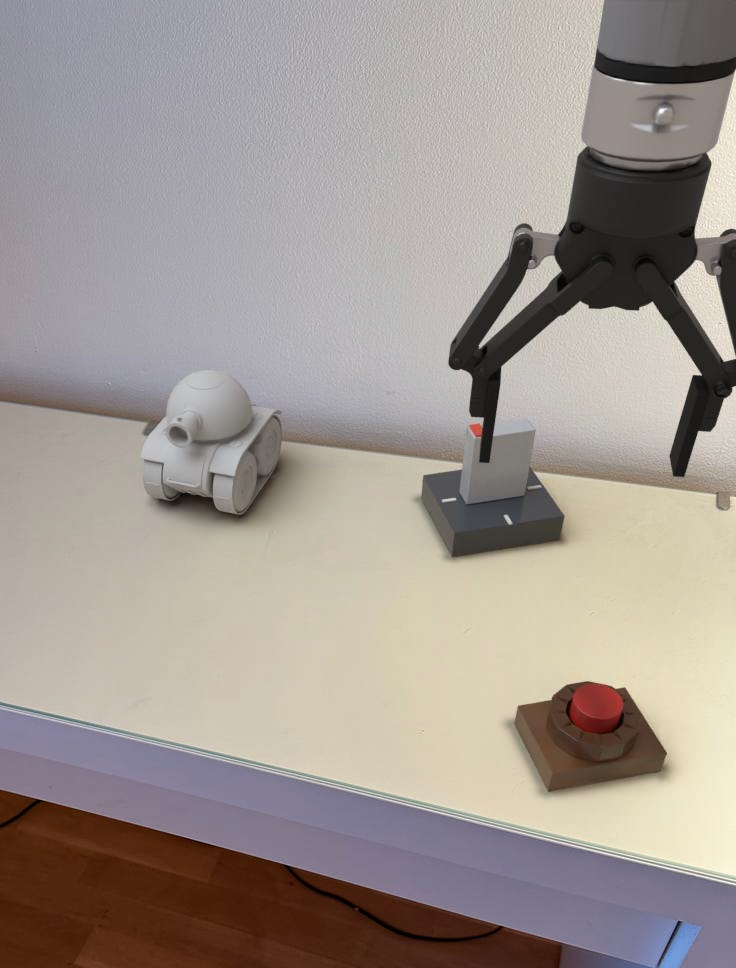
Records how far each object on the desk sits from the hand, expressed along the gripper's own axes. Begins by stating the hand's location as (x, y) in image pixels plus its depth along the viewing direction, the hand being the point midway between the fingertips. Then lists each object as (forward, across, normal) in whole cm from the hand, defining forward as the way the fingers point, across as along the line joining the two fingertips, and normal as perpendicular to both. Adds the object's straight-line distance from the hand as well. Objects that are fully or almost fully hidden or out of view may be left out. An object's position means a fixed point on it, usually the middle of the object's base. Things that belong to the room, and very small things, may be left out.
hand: (578, 460), depth 71 cm
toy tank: (+19, -34, +20) cm, 44 cm away
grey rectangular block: (+16, -5, +18) cm, 24 cm away
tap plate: (+19, -5, +18) cm, 27 cm away
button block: (+19, +4, -11) cm, 22 cm away
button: (+15, +3, -11) cm, 19 cm away
